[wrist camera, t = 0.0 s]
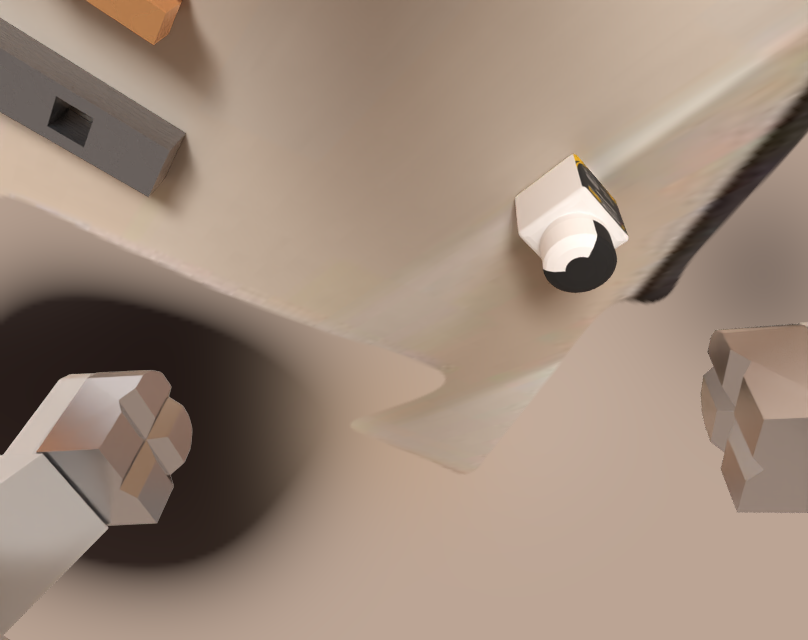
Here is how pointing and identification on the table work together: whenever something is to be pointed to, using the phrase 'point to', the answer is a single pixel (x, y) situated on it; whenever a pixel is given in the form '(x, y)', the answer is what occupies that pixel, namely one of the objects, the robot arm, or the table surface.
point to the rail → (111, 111)
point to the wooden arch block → (142, 15)
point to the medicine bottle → (571, 226)
